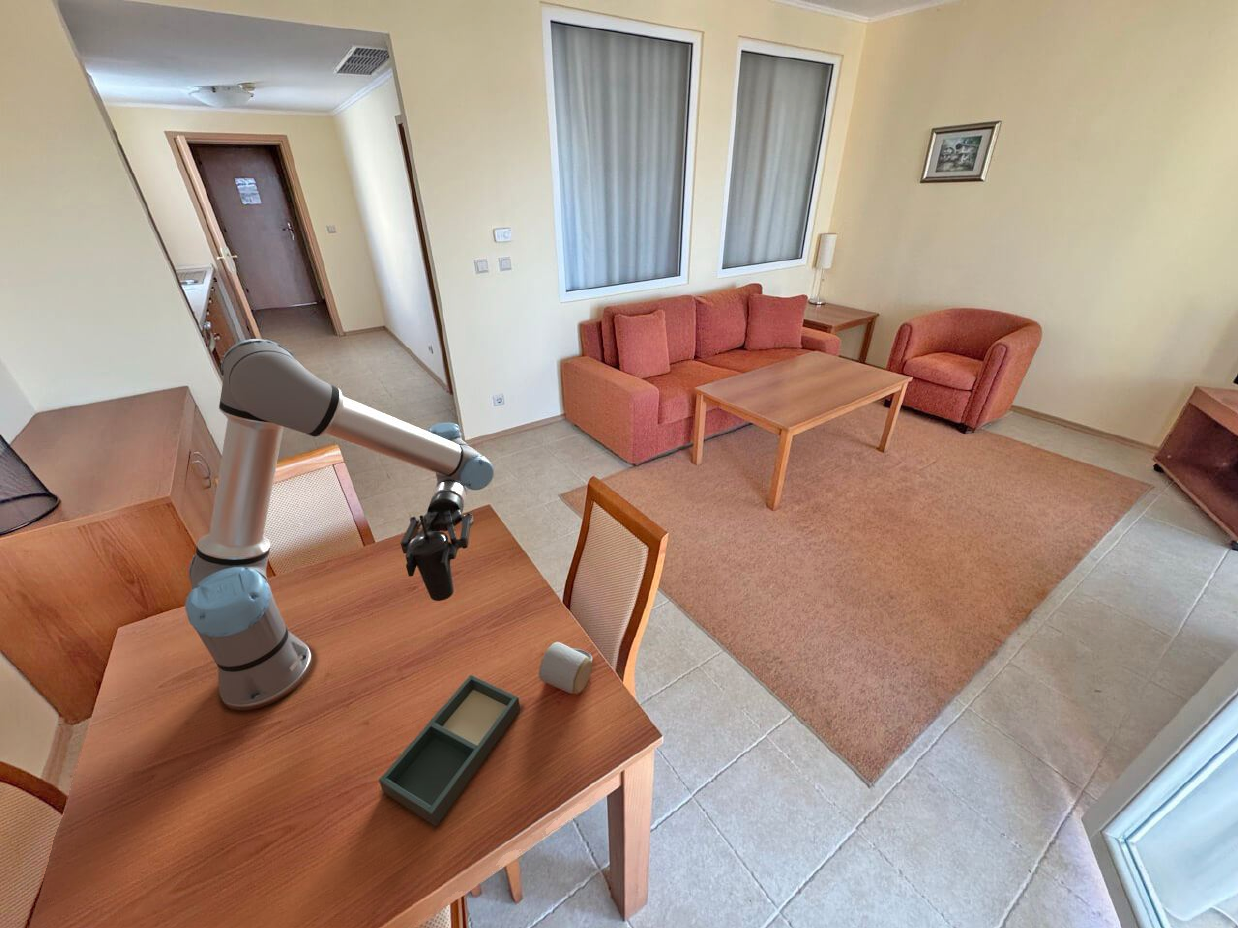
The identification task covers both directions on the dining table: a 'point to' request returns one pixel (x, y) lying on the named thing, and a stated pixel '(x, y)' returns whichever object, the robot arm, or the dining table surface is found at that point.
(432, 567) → the drinking cup
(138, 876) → the dining table surface
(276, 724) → the dining table surface
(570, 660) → the ceramic mug
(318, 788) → the dining table surface
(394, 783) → the divided tray
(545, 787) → the dining table surface
